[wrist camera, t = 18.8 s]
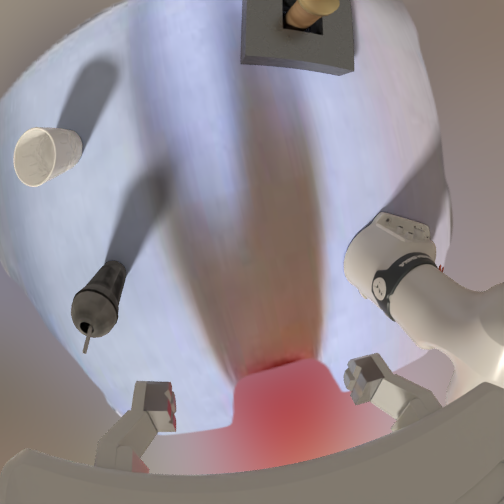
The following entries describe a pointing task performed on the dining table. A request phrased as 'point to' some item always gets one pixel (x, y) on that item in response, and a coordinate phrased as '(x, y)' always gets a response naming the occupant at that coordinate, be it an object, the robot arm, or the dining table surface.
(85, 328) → the beverage cup
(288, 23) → the brass pin
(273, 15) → the hitch block
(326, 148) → the dining table surface
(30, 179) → the white cup
